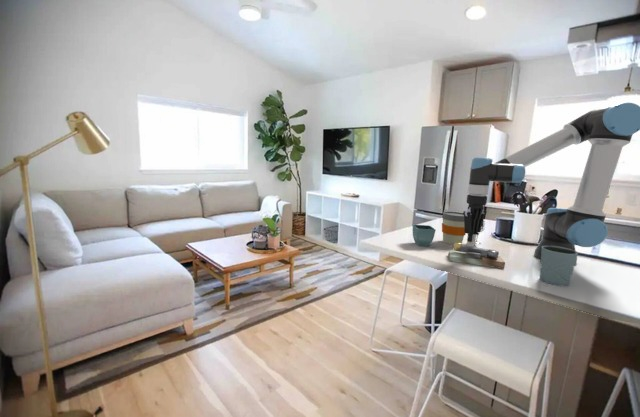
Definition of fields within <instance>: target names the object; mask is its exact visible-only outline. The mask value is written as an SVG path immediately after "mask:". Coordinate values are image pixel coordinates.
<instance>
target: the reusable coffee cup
mask: <svg viewBox="0 0 640 417" xmlns="http://www.w3.org/2000/svg"><path fill="white" fill-rule="evenodd" d="M441 219H442V222H441V232H442V243H445V244H447V245H453V246H454V243H455V242H459V243H462V244H463V241H464V238H465V236H466V234H467V233H465V227H464V214H463V212H459V211H443V212H442V217H441Z"/></svg>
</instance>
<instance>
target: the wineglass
mask: <svg viewBox="0 0 640 417" xmlns="http://www.w3.org/2000/svg"><path fill="white" fill-rule="evenodd" d="M485 228H486V222H485V219H484V220H483V223H482V227H481V230H480V232H478V233H479V234H480V233H483V232H484V231H485ZM478 236H479V235H477V234H476V240H475V245H481V244H482V243H481V242H479V240H478V238H479V237H478Z"/></svg>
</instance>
